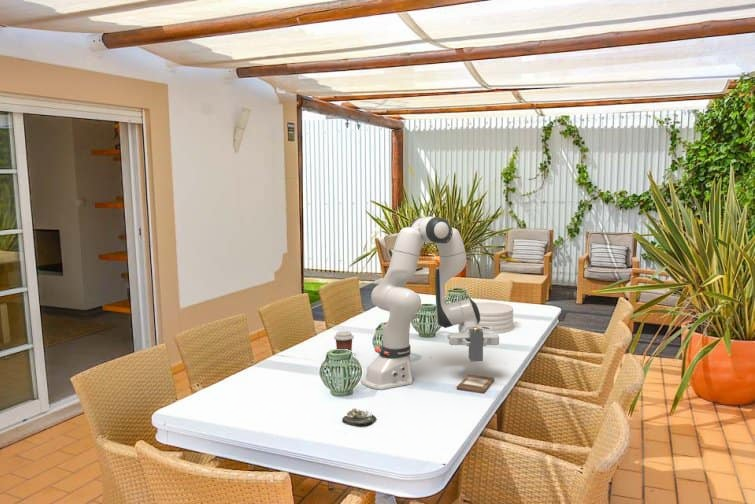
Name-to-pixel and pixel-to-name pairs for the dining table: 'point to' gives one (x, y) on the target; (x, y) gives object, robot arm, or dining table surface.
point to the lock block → (476, 344)
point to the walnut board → (475, 383)
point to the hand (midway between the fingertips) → (476, 344)
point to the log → (359, 418)
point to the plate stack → (496, 316)
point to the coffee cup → (344, 340)
